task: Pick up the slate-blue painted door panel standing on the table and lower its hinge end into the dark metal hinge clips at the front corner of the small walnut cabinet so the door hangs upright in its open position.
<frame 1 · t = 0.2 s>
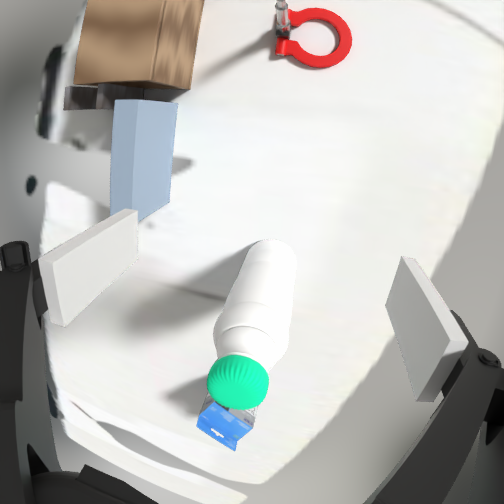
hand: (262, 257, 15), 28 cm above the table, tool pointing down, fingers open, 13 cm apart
door: (163, 152, 42), on the table
water bottle: (271, 260, 46), on the table
cabinet: (163, 41, 36), on the table
label tape box: (237, 384, 56), on the table
tow hook: (314, 37, 33), on the table
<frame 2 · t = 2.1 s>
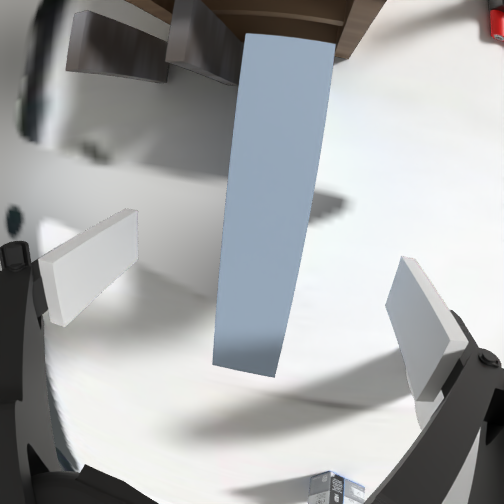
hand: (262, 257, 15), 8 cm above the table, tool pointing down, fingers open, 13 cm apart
door: (285, 178, 22), on the table
water bottle: (438, 356, 25), on the table
label tape box: (337, 481, 36), on the table
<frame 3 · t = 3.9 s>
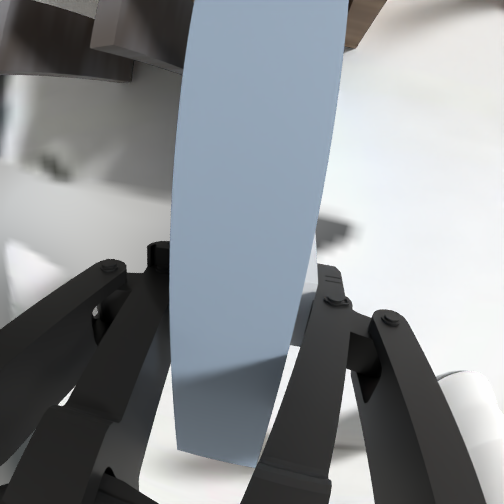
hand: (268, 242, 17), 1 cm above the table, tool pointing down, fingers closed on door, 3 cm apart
door: (275, 200, 17), on the table, touching gripper
water bottle: (449, 396, 21), on the table
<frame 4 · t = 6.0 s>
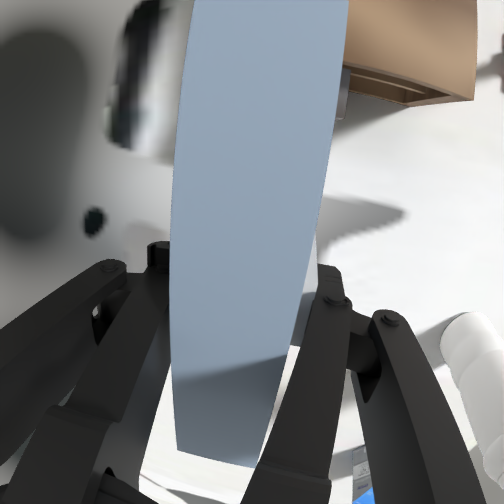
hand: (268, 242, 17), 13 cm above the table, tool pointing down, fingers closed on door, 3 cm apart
door: (275, 201, 17), point 12 cm above the table, touching gripper
water bottle: (463, 333, 31), on the table
cabinet: (365, 23, 22), on the table
label tape box: (374, 454, 42), on the table
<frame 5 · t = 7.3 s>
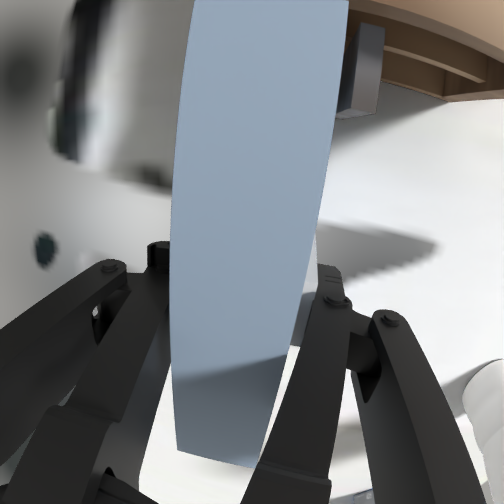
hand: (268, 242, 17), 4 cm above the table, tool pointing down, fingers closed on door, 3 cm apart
door: (275, 201, 17), point 3 cm above the table, touching gripper
water bottle: (489, 381, 23), on the table
label tape box: (377, 497, 34), on the table
when the fingers open (3 cm above the table, at t = 8.2 s): door drops 2 cm, on the table.
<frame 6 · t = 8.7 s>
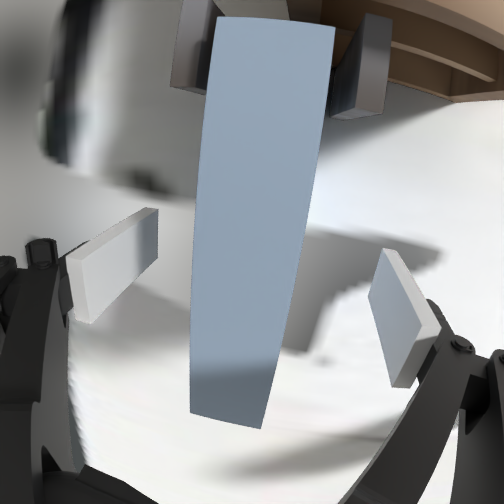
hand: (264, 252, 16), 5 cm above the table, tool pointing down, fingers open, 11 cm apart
door: (278, 193, 19), on the table
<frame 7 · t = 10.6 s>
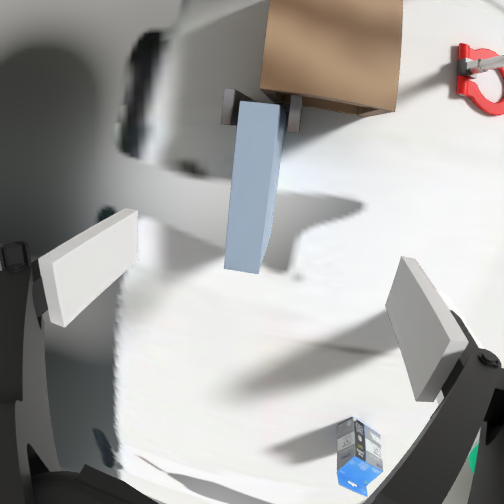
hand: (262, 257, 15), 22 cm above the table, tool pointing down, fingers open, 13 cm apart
door: (265, 172, 35), on the table
water bottle: (427, 310, 38), on the table
cabinet: (326, 49, 29), on the table
label tape box: (358, 429, 48), on the table
tow hook: (485, 80, 26), on the table
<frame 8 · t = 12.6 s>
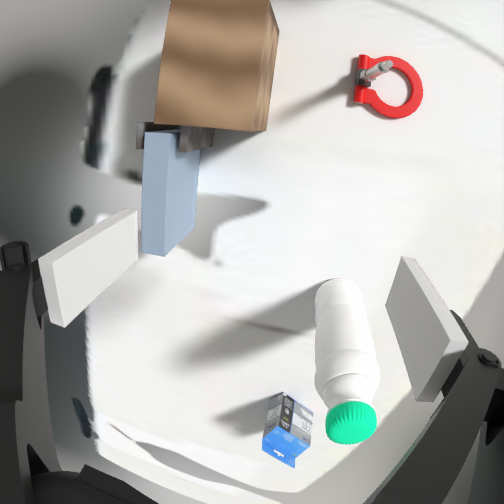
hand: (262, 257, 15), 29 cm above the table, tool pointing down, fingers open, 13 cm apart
door: (187, 179, 44), on the table
water bottle: (337, 296, 47), on the table
cabinet: (234, 75, 38), on the table
label tape box: (291, 405, 58), on the table
tow hook: (388, 86, 35), on the table
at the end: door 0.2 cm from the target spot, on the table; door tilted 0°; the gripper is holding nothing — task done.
